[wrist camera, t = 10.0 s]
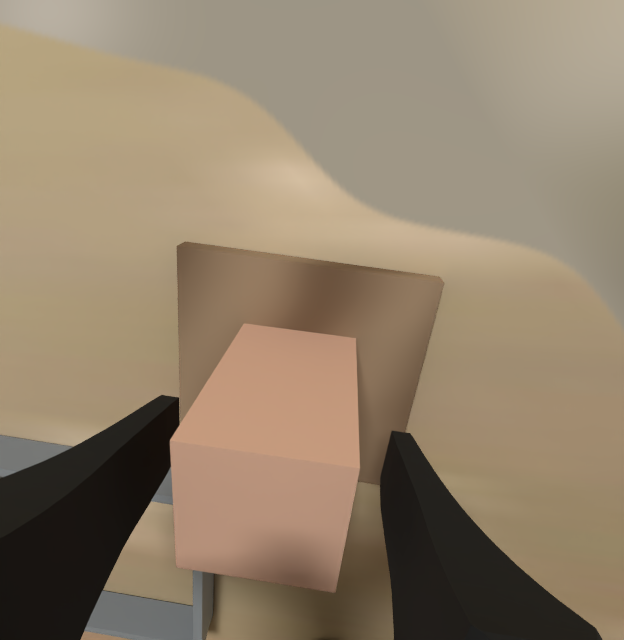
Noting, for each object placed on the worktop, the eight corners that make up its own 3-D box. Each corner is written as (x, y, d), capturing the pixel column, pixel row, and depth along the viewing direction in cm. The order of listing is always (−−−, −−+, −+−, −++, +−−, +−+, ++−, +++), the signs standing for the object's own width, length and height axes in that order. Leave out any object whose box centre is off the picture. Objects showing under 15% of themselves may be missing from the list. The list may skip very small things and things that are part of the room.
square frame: (216, 469, 20) (202, 501, 18) (212, 614, 25) (201, 651, 23) (-10, 433, 20) (-46, 461, 18) (29, 582, 25) (3, 616, 23)
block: (355, 338, 15) (360, 468, 9) (341, 429, 17) (335, 592, 11) (244, 323, 16) (169, 440, 9) (240, 415, 17) (176, 567, 11)
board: (439, 276, 15) (444, 283, 14) (388, 473, 19) (390, 486, 18) (185, 241, 15) (176, 245, 15) (187, 442, 19) (181, 453, 19)
